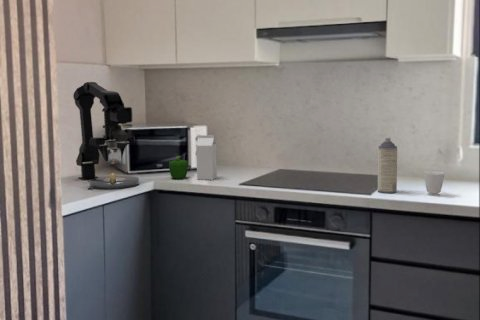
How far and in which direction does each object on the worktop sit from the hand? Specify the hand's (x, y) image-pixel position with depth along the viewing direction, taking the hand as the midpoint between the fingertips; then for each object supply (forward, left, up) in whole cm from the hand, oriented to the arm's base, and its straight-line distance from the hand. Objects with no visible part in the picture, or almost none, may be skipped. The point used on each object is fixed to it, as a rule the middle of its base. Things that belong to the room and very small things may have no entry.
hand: (113, 160), depth 230 cm
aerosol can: (+95, +55, -11) cm, 110 cm away
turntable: (0, 0, -10) cm, 10 cm away
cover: (0, 0, -1) cm, 1 cm away
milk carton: (+19, +35, -11) cm, 41 cm away
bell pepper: (+8, +28, -11) cm, 31 cm away
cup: (+110, +61, -11) cm, 126 cm away
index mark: (0, -11, -10) cm, 15 cm away
